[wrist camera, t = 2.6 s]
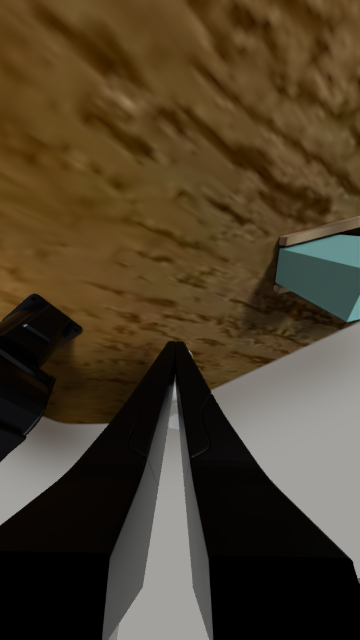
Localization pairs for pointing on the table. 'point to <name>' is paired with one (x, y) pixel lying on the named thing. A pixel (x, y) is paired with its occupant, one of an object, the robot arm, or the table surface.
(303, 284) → the slider
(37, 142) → the table surface
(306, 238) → the track
